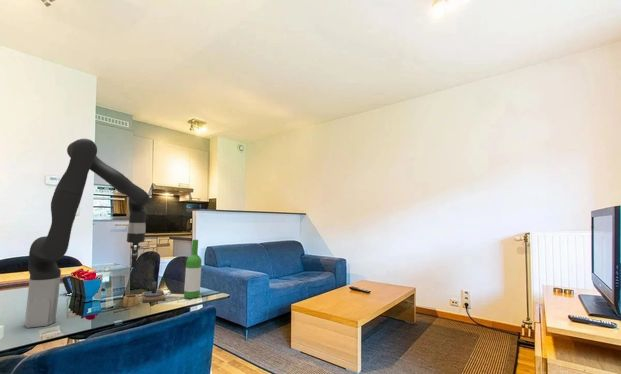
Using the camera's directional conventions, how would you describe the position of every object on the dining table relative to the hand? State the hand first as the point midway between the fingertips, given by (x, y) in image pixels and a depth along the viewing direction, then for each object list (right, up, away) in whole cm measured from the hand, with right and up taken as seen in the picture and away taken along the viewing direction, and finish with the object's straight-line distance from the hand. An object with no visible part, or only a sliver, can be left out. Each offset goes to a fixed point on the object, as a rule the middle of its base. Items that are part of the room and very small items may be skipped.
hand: (133, 266), depth 148 cm
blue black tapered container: (-37, -19, +17) cm, 45 cm away
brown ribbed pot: (0, -18, -2) cm, 18 cm away
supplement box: (-24, -18, +3) cm, 30 cm away
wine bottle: (+22, -20, +15) cm, 34 cm away
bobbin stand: (+4, -19, +11) cm, 23 cm away
